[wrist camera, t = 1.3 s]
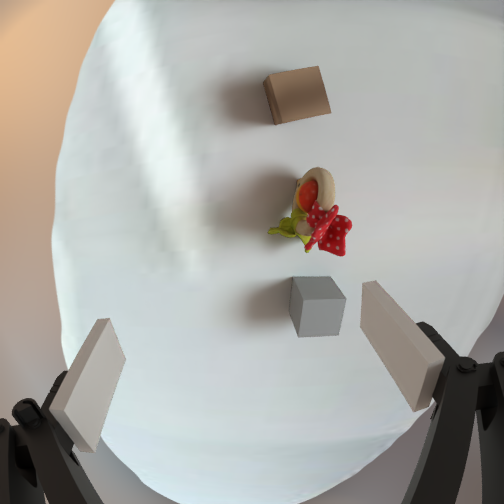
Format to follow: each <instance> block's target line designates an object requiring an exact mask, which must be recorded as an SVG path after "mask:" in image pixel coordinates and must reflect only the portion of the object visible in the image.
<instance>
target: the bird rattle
mask: <svg viewBox="0 0 504 504" xmlns="http://www.w3.org/2000/svg"><path fill="white" fill-rule="evenodd" d="M334 199H335V184H334V180H333V177H332V175H331V173H330V172H329V171H327V170H325V169H323V168H319V167H316V168H312V169H310V170H309V171H308V172H307V173H306V174H305V175H304V176H303V177H302V178H301V179H299V180H298V181H297V188H296V191H295V195H294V199H293V204H292V213H291V218H289V217H286V218H284V219H282V220H281V222H280V225H279V227H277V228H270V229H269V231H268V234H277V233H280V234H281V235H283V236H285V237H289V238H291V237H295V236H296V235H298V236H299V237H300V239H301V240H302V242H303V243H304V245H305V247H304V248H305V252H306V253H308V252H309V251H310V250H311V248H312V247H313V245H314V244H315V243H316V242H317V241H318V247H319V250H324V251H328V252H330V253H332V254H335V255H337V256H344V255H345V236H346V234H347V233H348V232H349V231H350V229H351V228H352V222H351V220H349V219H348V218H347V217H346V216H342V215H337V213H338V209H339V207H338V206H337V205H334ZM333 205H334V206H333ZM307 214H308V215H307Z"/></svg>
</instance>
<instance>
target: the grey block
mask: <svg viewBox="0 0 504 504" xmlns="http://www.w3.org/2000/svg"><path fill="white" fill-rule="evenodd" d="M345 303H346V298H345V296H344V295H343V293H342V292H341V290H340V289H339V288H338V286H337V285H336V283H335V282H334V281H333V279H332V278H331V277H293V279H292V288H291V297H290V306H289V313H290V316H291V319H292V321H293V324H294V327H295V330H296V333H297V335H298V337H318V336H336V335H339V331H340V327H341V322H342V318H343V313H344V308H345Z"/></svg>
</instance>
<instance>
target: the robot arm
mask: <svg viewBox="0 0 504 504" xmlns="http://www.w3.org/2000/svg"><path fill="white" fill-rule="evenodd" d="M360 328H361V329H362V331H363V332H364V334H365V335H366V337H367V338H368V340H369V341H370V343H371V345H372V346H373V348H374V349H375V351H376V352H377V354H378V356H379V357H380V359H381V360H382V362H383V363H384V365H385V367H386V368H387V370H388V371H389V373H390V375H391V376H392V378H393V379H394V381H395V383H396V384H397V386H398V387H399V389H400V391H401V392H402V394H403V396H404V397H405V399H406V401H407V402H408V404H409V406H410V407H411V409H412V411H413V412H416V411H419V410H421V409H424V408H427V407H429V405H430V402H431V399H432V397H433V398H434V400H435V401H436V403H437V404H436V406H435V409H434V411H433V414H432V416H431V418H430V419H432V420H431V424H430V427H429V431H428V434H427V437H426V440H425V443H424V446H423V449H422V452H421V455H420V458H419V461H418V463H417V466H416V469H415V472H414V474H413V477H412V479H411V482H410V484H409V487H408V489H407V492H406V494H405V496H404V499H403V501H402V503H401V504H455V502H456V498H457V495H458V492H459V488H460V484H461V481H462V477H463V473H464V469H465V464H466V460H467V456H468V451H469V446H470V441H471V436H472V429H473V424H474V418H475V411H476V415H477V423H478V432H479V441H480V451H481V466H482V504H504V352H499V353H497V354H496V355H495V357H494V359H493V362H492V363H484V364H478V363H477V362H476V361H475V360H473V359H472V358H469V357H460V356H459V355H458V354H457V353H456V352H455V351H454V350H453V349H452V347H451V346H450V345H449V344H448V343H447V342H446V341H445V340H444V339H443V338H442V337H441V335H440V334H438V332H437V331H436V330H435V329H434V328H433V327H432V326H430V325H429V324H427V323H425V322H419V323H416V324H415V322H414V321H413V320H412V319H411V318H410V317H409V316H408V315H407V314H406V313H405V311H404V310H403V309H402V308H401V307H400V306H399V305H398V304H397V303H396V302H395V301H394V299H393V298H392V297H391V296H390V295H389V294H388V293H387V292H386V291H385V290H384V289H383V288H382V287H381V286H380V285H379V283H378V282H377V281H371V282H365V283H362V305H361V322H360ZM125 361H126V358H125V355H124V353H123V351H122V348H121V346H120V343H119V341H118V338H117V336H116V333H115V331H114V328H113V325H112V323H111V320H110V318H106V319H97V321H96V323H95V324H94V326H93V328H92V329H91V331H90V333H89V335H88V336H87V338H86V340H85V342H84V343H83V345H82V347H81V349H80V350H79V352H78V354H77V356H76V358H75V359H74V361H73V363H72V365H71V367H70V369H69V371H63V372H62V373H61V374H60V375H59V376H58V377H57V378H56V380H55V382H54V384H53V387H52V388H51V390H50V393H48V395H47V397H46V399H45V401H44V403H43V405H42V407H41V409H40V407H39V406H38V405H37V403H36V401H35V400H33V399H31V398H26V399H23V400H21V401H19V402H18V403H17V404H16V405H15V406H14V407H13V410H12V416H13V417H14V418H15V420H16V421H17V422H18V424H19V425H16V426H11V425H10V423H9V422H8V421H7V420H6V419H4V418H1V419H0V504H46V503H45V497H44V493H45V495H46V498H47V500H48V502H49V504H104V503H103V502H102V500H101V499H100V497H99V495H98V494H97V492H96V490H95V489H94V487H93V486H92V484H91V482H90V480H89V479H88V477H87V475H86V473H85V472H84V470H83V468H82V466H81V464H80V462H79V460H78V459H77V457H76V455H75V453H74V452H73V451H72V447H73V445H74V444H75V445H76V446H77V448H78V449H79V450H80V451H82V452H91V453H95V451H96V448H97V445H98V441H99V438H100V435H101V431H102V428H103V425H104V422H105V419H106V416H107V413H108V410H109V406H110V403H111V400H112V398H113V395H114V392H115V389H116V386H117V383H118V380H119V377H120V374H121V372H122V369H123V366H124V363H125Z"/></svg>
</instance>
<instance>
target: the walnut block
mask: <svg viewBox="0 0 504 504" xmlns="http://www.w3.org/2000/svg"><path fill="white" fill-rule="evenodd" d="M263 85H264V88H265V92H266V95H267V99H268V102H269V106H270V109H271V113H272V116H273V120H274V124H275V125H278V124H282V123H287V122H291V121H295V120H300V119H305V118H309V117H314V116H319V115H324V114H329V113H331V109H330V106H329V102H328V98H327V94H326V91H325V87H324V84H323V80H322V77H321V73H320V70H319V66H315V67H308V68H302V69H296V70H291V71H286V72H281V73H276V74H271V75H269V76H268V77H267V78H266V80H265V81H264V82H263Z"/></svg>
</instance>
